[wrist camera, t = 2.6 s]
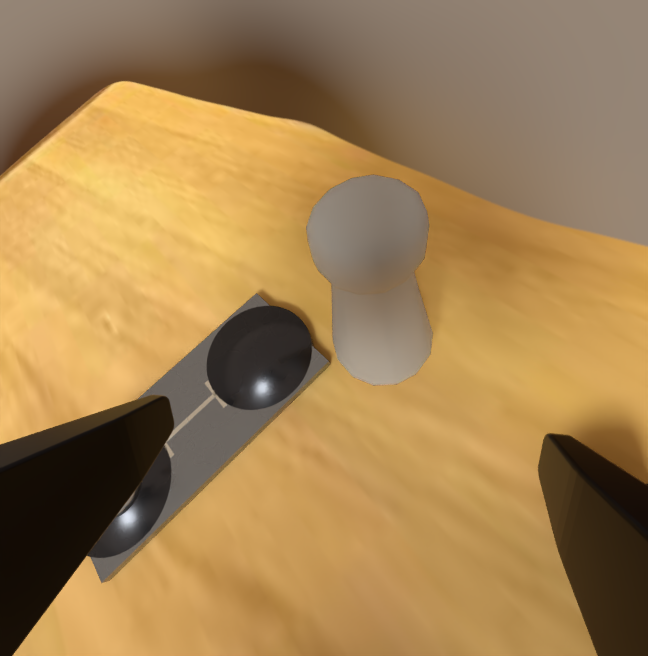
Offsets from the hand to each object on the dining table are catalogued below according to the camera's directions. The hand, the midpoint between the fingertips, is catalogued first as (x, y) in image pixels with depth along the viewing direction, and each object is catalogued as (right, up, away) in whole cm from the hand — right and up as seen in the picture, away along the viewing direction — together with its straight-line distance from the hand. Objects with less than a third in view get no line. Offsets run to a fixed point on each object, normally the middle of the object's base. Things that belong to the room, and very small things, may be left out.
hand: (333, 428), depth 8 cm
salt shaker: (+4, +1, +15) cm, 15 cm away
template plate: (-9, -4, +15) cm, 18 cm away
